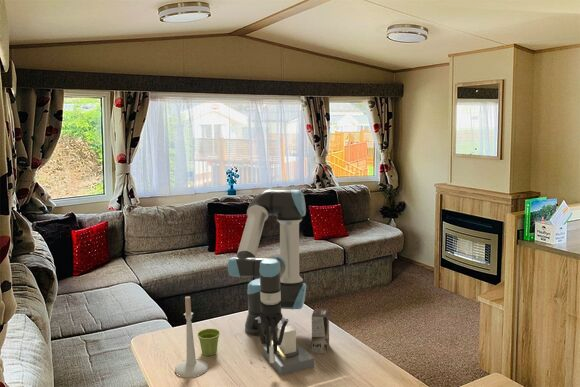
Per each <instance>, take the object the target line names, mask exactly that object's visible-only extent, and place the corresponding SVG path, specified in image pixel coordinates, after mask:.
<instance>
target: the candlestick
mask: <svg viewBox="0 0 580 387" xmlns="http://www.w3.org/2000/svg"><path fill="white" fill-rule="evenodd" d="M184 300H185V302H184V304H185V305H184V306H185V313H183V316H185V319H186V360H183V361H182V362H180V363H178V364H177V365H176V367H174V373H175V372H176V374H178V375H180V376H183V377H193V378H195V377H194V376H197V377H199V376H198V375H200V376H202V375H204V374H206V372H208V370H209V364H208V363H207V362H206V361H205V360H202V359H199V358H198V359H197V358H196V352H195V350H196V349H195V341H194V340H195V339H194V332H193V331H194V330H193V321H192V319H193V315H194V312H192V306H191V305H192V304H191V303H192V302H191V296H188V295H187V296H185V297H184ZM203 373H204V374H203ZM176 374H175V375H176ZM201 374H202V375H201ZM183 377H182V378H183Z"/></svg>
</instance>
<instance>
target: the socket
mask: <svg viewBox="0 0 580 387" xmlns="http://www.w3.org/2000/svg"><path fill="white" fill-rule="evenodd" d="M277 346H278V347H279V345H277ZM296 347H297V348H298V354H297V355H296V356H294V357H290V358H286V359H284V360H283V359H282V357H281V356H279V355H278V354H277V353H276V354H275V361H274V363H270V357H269V354H267V346H266V345H265V346H262V351H263V352H262V354H263V356H264V358H265V359H266V360H267V361H268V362H269V363H270V364H271V366H272V367H273V368H274V369H275V370H276V372H278V374H279V375H280V376H284V375H288V374H293V373H296V372H299V371H304V370H307V369H312V368H315V357H314V356H312V355H311V354H310V353H309V352H308V351H307V350H306V349H305V348H304V347H302V346H301V345H300V344H299V343H298V342H297V341H296Z"/></svg>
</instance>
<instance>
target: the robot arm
mask: <svg viewBox="0 0 580 387" xmlns="http://www.w3.org/2000/svg"><path fill="white" fill-rule="evenodd" d="M305 200H306V199H305V195H304V193H303V191H301V190H300V189H291V188H290V189H266V190H263V191H261V192H260V193H258V194H257V195H256V196H255V197H254V198H253V199H252V201H250V203H249V205H248V207H247V210H246V215H247V218H246V221H245V226H244V229H243V232H242V236H241V240H240V243H239V246H238V250H237V254H236V256H233V257H230V258H229V259H228V263H227V272H228V275H229V276H230V277H235V278H255V279H253V280H251V281H249V283H247V292H246V293H247V310H248V312H247V317H246V321H245V324H244V330H245V332H246V333H247V334H249V335H254V336H259V339H260V342H261V345H265V346H267V354H269V357H270V362H269V364H271V363H274V361H275V354H276V353H277V345H281V343H282V340H283V335H284V331H285V327H286V326H288V325H287V324H288V323H289V321H290V320H289V319H288V318H284V316H283V313H282V309H283V310H302V308H303V307H304V304H305V299H306V294H307V284H306V283H305V282H304V279H303V278H302V277H301V276H300V223H301V222H302V221H303V217H305V216H306V213H307V208H306V207H307V206H306V201H305ZM269 216H276V221H277V223H279V246H280V247H279V248H280V249H279V253H280V254H279V255H273V256H271V257H257V253H258V249H259V246H260V242H261V241H260V240H261V237H262V233H263V229H264V226H265V222H266V221H267V220H268V218H269ZM280 322H281V331H280V335H279V334H278V330H279V324H280ZM271 335H272V336H271ZM271 337H272V338H271ZM271 340H273V343H271Z"/></svg>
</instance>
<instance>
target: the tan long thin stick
mask: <svg viewBox="0 0 580 387" xmlns="http://www.w3.org/2000/svg"><path fill="white" fill-rule="evenodd" d="M271 343H273V339H271ZM277 352H278V354H279V355H280V356H281V357H282V359H283V360H284V359H286V356H285V355H284V353H283V352H282V351H281V350H280V349H279V347H278V346H277Z"/></svg>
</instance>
